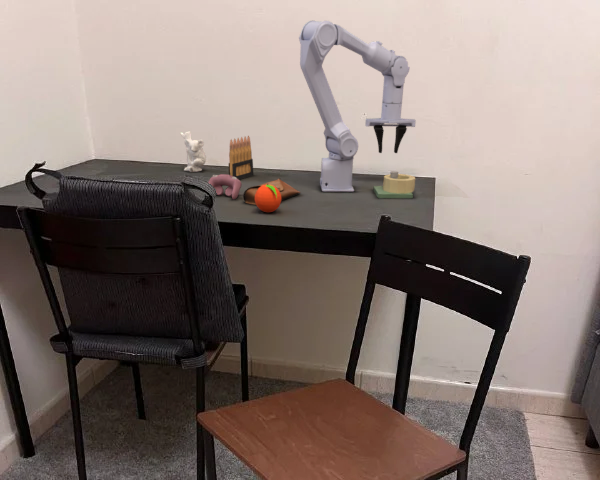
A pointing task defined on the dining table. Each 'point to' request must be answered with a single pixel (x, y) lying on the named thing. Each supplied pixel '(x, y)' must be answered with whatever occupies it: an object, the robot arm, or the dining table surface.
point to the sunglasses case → (284, 188)
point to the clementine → (268, 198)
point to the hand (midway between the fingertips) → (387, 152)
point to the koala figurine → (194, 153)
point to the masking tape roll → (399, 184)
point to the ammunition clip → (240, 158)
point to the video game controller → (226, 180)
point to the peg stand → (384, 194)
